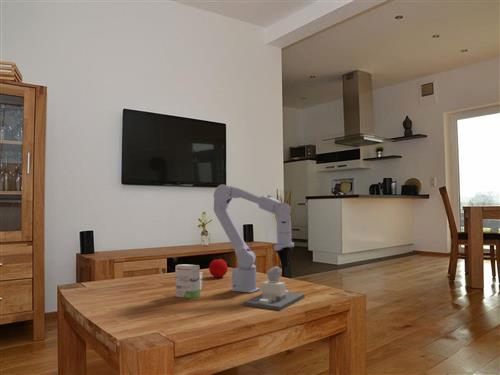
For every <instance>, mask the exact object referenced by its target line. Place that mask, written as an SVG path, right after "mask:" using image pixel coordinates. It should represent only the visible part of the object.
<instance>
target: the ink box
mask: <svg viewBox="0 0 500 375" xmlns="http://www.w3.org/2000/svg"><path fill="white" fill-rule="evenodd" d="M200 266H201V265H199V264H197V265H196V264H185V263H184V264H183V263H182V264H177V265H175V269H174V270H175V271H174V272H175V297H176V298H178V297H179V298H185V299H195V298H198V297H200V296H201V277H200V276H201V275H200V273H201V272H200V269H201V268H200Z"/></svg>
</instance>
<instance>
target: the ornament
mask: <svg viewBox="0 0 500 375" xmlns="http://www.w3.org/2000/svg"><path fill="white" fill-rule="evenodd" d="M228 269H229V268H228V264H227V262H226V261H225V260H224V259H222V258H221V257H220V256H216V258H215V259H213V260H212V261H211V262H210V264H209V266H208V270H209V273H210V275H211V276H213V277H214V278H222V277H224V276H225V275H227V272H228Z"/></svg>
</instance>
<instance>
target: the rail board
mask: <svg viewBox="0 0 500 375" xmlns="http://www.w3.org/2000/svg"><path fill="white" fill-rule="evenodd" d="M304 298H305V293H297V292H290V290H287V289H286V299H284V300H282V301H278V300H277V297H276V296H275V295H267V294H262V293H261V294H259V295H256V296H254V297H251V298H249V299H246V300H244V301H243V302H242V305H243V306H245V307H251V308H258V309H266V310H273V311H282V310H284V309H286V308H288V307H290V306H291V305H293V304H296V303H297V302H298V301H301V300H304Z"/></svg>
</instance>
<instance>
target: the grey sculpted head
mask: <svg viewBox="0 0 500 375" xmlns="http://www.w3.org/2000/svg"><path fill="white" fill-rule="evenodd" d="M266 274H267V275H266V276H267V278H268V281H279V280H280V276H281V275H282V274H283V269H282V268H280V267H279V266H276V265H275V266H273V267H272V268H270V269H268V270H267V271H266Z"/></svg>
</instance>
